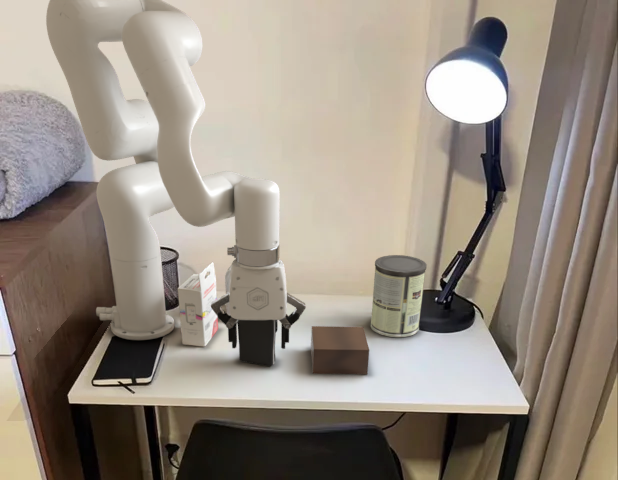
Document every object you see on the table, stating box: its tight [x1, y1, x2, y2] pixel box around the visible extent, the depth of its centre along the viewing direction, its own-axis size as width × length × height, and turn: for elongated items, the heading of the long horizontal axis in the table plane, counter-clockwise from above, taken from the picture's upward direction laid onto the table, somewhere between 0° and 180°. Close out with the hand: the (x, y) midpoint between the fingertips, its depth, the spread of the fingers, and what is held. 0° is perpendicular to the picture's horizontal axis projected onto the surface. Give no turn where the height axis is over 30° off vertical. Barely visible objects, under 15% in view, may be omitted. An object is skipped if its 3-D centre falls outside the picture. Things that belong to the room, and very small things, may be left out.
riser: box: [310, 325, 370, 375], centre depth 124 cm, size 10×10×5 cm
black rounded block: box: [237, 320, 279, 367], centre depth 122 cm, size 7×4×11 cm, turn 74°
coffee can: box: [370, 254, 428, 338], centre depth 136 cm, size 10×10×14 cm
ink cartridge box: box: [177, 261, 219, 347], centre depth 129 cm, size 9×5×15 cm, turn 168°
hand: (259, 345), depth 123 cm, fingers open, 8 cm apart
